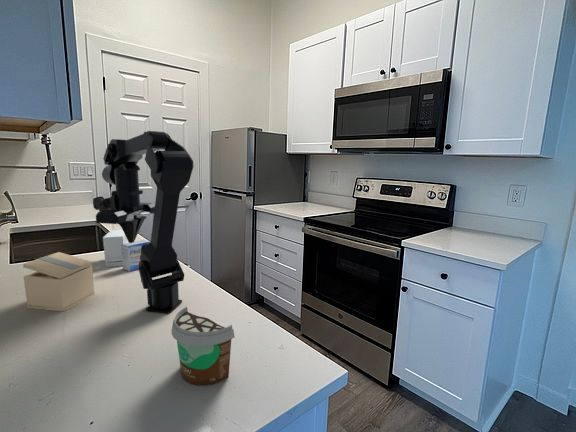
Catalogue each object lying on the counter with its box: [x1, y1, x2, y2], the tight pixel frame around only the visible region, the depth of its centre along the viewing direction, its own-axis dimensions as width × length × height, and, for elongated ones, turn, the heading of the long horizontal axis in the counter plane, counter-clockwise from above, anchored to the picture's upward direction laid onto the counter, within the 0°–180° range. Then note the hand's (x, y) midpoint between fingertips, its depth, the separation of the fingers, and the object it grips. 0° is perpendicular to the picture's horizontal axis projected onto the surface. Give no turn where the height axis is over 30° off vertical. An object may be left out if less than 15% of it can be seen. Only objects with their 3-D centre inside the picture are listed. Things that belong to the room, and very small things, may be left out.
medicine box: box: [121, 239, 151, 272], centre depth 108 cm, size 8×4×9 cm, turn 143°
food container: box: [170, 306, 235, 387], centre depth 55 cm, size 12×6×10 cm, turn 56°
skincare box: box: [102, 229, 129, 268], centre depth 113 cm, size 10×6×10 cm, turn 15°
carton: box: [23, 265, 95, 312], centre depth 82 cm, size 10×10×8 cm
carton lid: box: [22, 251, 93, 278], centre depth 81 cm, size 10×10×1 cm
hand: (131, 242), depth 90 cm, fingers closed
